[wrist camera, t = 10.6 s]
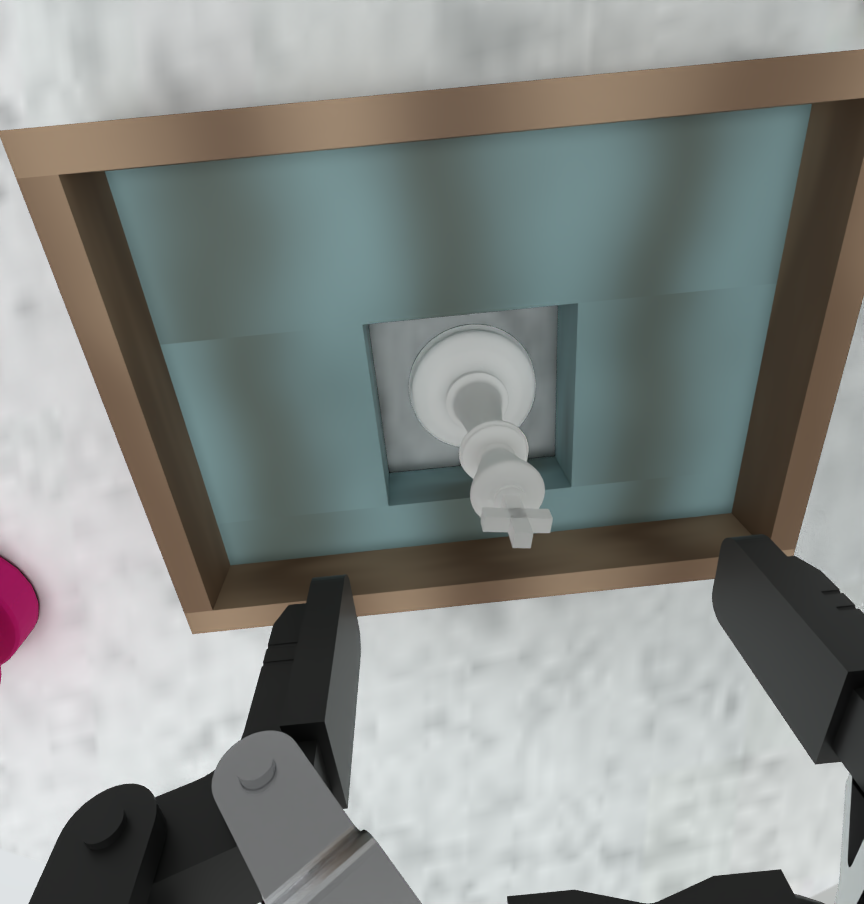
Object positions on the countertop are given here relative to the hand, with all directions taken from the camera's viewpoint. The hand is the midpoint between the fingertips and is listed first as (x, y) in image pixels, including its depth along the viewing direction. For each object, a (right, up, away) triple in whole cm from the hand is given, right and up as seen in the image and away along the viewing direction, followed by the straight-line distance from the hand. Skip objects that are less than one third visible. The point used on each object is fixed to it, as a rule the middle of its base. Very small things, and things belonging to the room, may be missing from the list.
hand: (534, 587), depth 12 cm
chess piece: (-1, +6, +10) cm, 12 cm away
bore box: (-1, +7, +9) cm, 11 cm away
